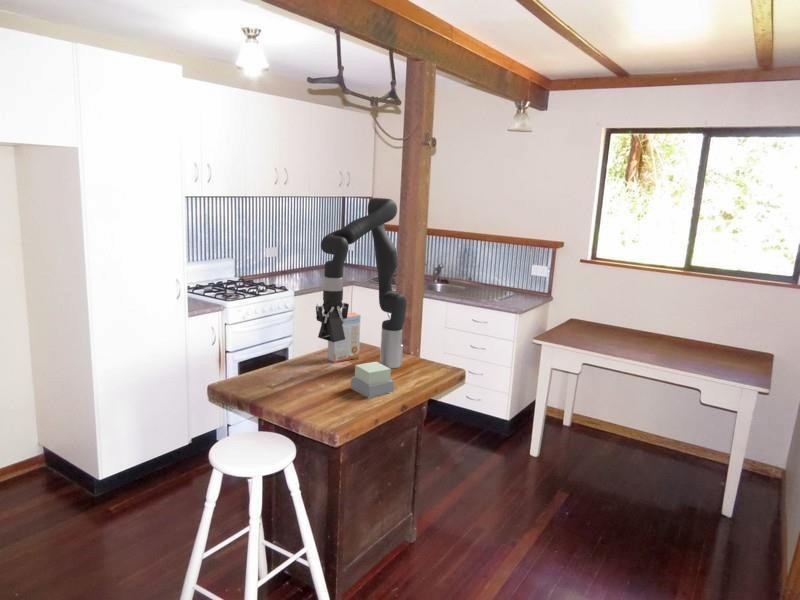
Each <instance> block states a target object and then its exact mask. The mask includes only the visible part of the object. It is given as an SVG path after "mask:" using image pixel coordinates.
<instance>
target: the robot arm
mask: <svg viewBox="0 0 800 600" xmlns="http://www.w3.org/2000/svg"><path fill="white" fill-rule="evenodd" d="M367 203H368V204H367V215H365V216H362V217H359V218H356V219H354V220H352V221H351V222H349V223H347V224H346V225H345V226H344V227H342V228H340V229H337V230H335V231H332V232H330V233H328V234H326V235H325V236H324V237H323V238H322V240H321V242H320V249H321V250H322V252H324V254H327V255H333V257H332V259H331V260H328V261H326V262H325V264H324V272H323V273H324V276H323V285H322V287H323V288H322V300H323V302H322V305H316V306H315V312H316V314H315V317H316V320H317V322H320V323H321V324H320V325H321V326H320V328H321V330H322V331H323V332H327V320H328V318H329V312H332V311H333V310H337V312H338V315H339V317H340V318H341V321H343V319H346V318H347V314H348V313H349V306H350V305H349V303H347V302H343V298H344V265H345V263H346V259H347V256H348V253H349V245H352V244H354V243H355V242H357V241H358V240H359V239H360V238H362V237H363V236H365V235H366V234H368V233H369V232H371V233H372V240H373V247H374V255H375V257H374V258H375V264H376V269H377V271H376V272H377V279H378V281H377V282H378V303H379V308H380V309H381V310H382V311H383V312H385V313H388V314H390V318H389V319H386V320H383V321H382V322H381V333H380V334H381V335H380V336H381V338H380V340H381V341H380V352H379V363H380V364H382V365H384V366H386V367H388V368H390V369H398V368H400V367H402V366H403V353H404V352H403V351H404V345H403V343H402V341H403V328H404V327H403V326H404V324H405V321H406V320H405V319H406V312H407V299H406V296H405V295H403V294H402V293H401V294H400V293H396V292H393V288H392V280H393V277H394V275H395V272H396V271H397V268H398V252H397V248H396V246H395V244H394V243H393V242H394V241H392V239H391V238H390V236H389V234H388V233H387V230H386V228H385V224H386V223H388V222H390V221H392V220H393V219H395V217H396V216H397V213H398V206H397V203H396V201H395V200H393V199H391V198H383V197H372V198H371V199H370V200H369V201H368V202H367ZM325 310H326V311H325ZM328 310H329V312H328ZM324 311H325V312H326V313H327V315H326V314H324ZM324 316H325V319H324Z"/></svg>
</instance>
